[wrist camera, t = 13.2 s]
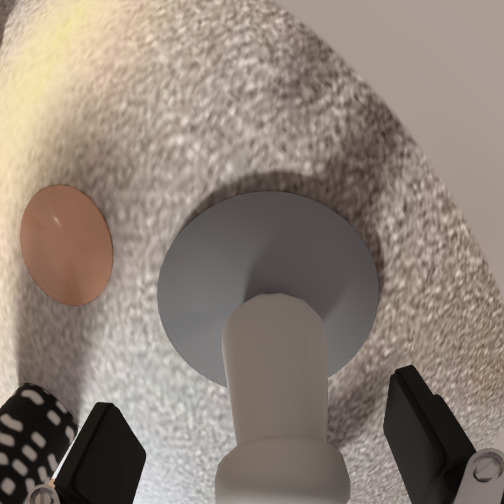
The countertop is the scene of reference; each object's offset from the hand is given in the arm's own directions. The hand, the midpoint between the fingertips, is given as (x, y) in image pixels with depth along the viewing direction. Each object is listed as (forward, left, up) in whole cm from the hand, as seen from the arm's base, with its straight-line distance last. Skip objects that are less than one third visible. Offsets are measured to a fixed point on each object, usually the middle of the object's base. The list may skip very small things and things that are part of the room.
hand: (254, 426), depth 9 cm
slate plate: (+1, +1, -11) cm, 11 cm away
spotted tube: (+12, -25, -11) cm, 30 cm away
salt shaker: (+1, +1, -10) cm, 10 cm away
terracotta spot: (-5, -13, -11) cm, 18 cm away
